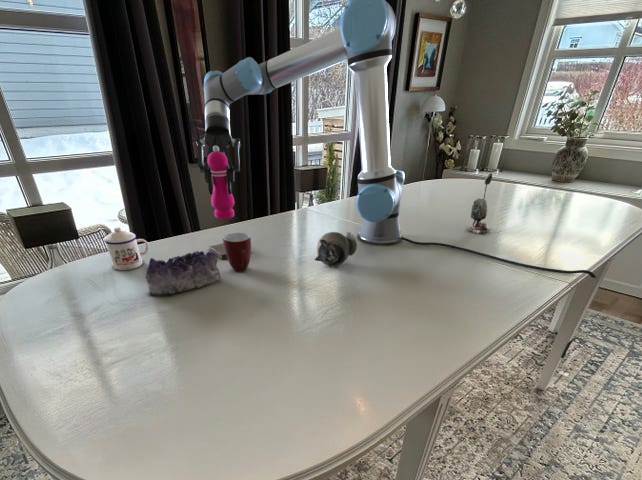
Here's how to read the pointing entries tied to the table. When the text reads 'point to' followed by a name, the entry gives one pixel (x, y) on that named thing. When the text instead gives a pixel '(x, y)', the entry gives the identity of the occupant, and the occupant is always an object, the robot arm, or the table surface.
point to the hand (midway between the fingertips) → (220, 191)
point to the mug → (238, 250)
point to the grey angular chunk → (218, 250)
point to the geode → (182, 273)
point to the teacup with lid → (124, 249)
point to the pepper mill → (220, 185)
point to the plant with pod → (480, 211)
